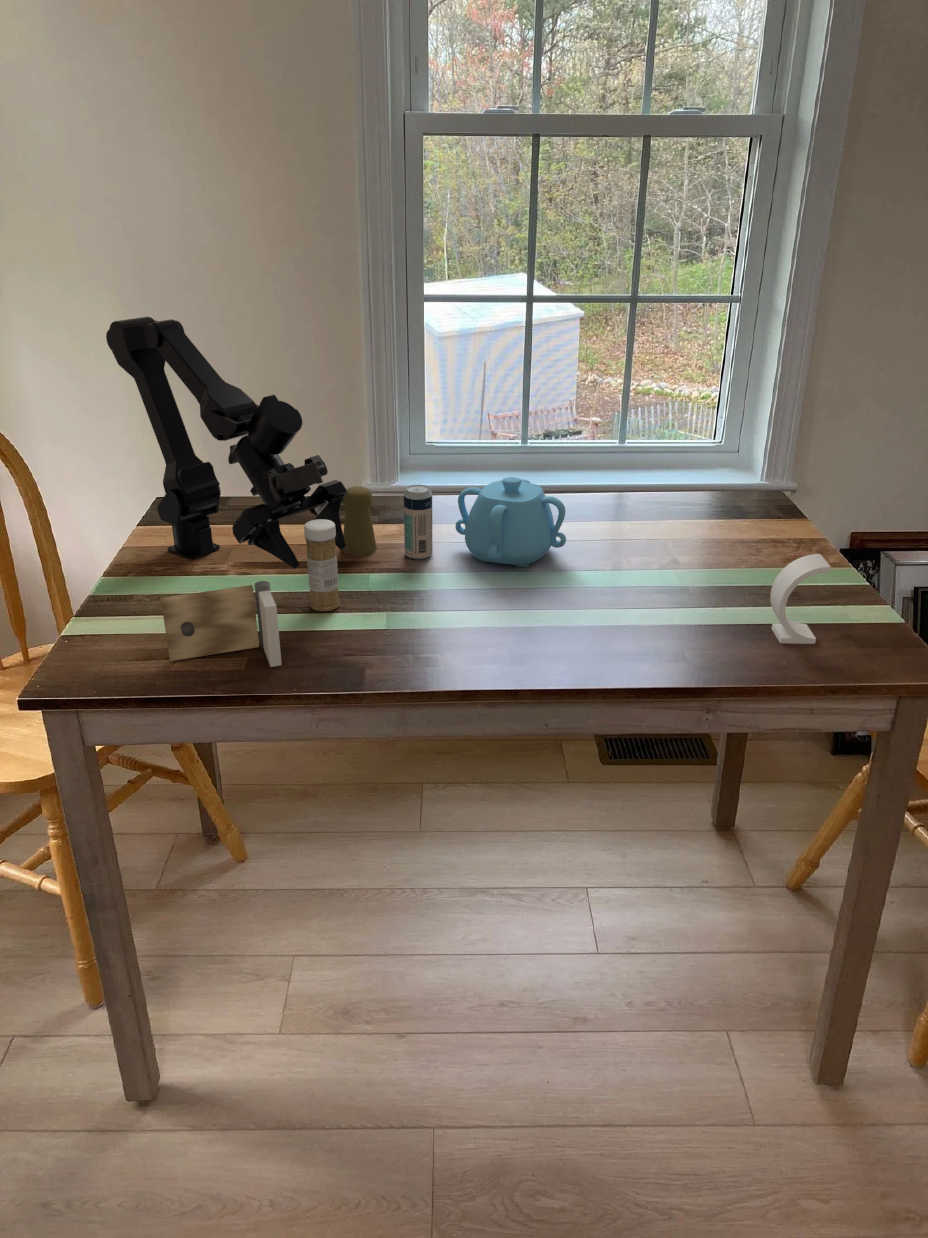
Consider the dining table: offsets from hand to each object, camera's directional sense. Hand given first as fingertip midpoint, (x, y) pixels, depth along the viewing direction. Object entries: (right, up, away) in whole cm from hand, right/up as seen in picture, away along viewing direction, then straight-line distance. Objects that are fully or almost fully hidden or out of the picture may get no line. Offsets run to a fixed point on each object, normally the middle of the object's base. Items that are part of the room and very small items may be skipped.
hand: (321, 557), depth 140 cm
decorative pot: (+29, +2, +22) cm, 37 cm away
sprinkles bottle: (0, -7, +4) cm, 8 cm away
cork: (+3, +3, +24) cm, 24 cm away
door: (-13, -14, -11) cm, 22 cm away
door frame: (-5, -14, -10) cm, 18 cm away
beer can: (+14, +2, +21) cm, 25 cm away
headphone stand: (+69, -12, -3) cm, 70 cm away
